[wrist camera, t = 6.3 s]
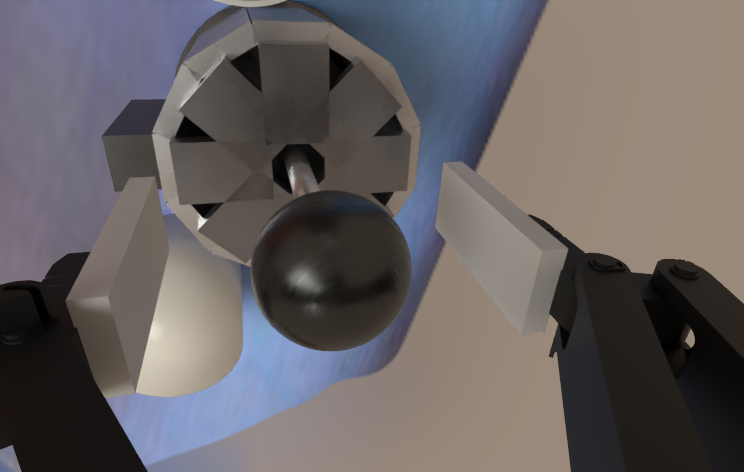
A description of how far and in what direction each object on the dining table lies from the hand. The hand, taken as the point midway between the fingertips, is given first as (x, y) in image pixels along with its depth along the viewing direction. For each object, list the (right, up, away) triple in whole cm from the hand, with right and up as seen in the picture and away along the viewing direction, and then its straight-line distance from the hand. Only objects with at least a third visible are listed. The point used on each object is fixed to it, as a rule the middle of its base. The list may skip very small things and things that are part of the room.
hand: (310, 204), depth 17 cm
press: (-4, +7, +13) cm, 15 cm away
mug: (-11, -3, +17) cm, 20 cm away
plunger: (-3, +6, +11) cm, 14 cm away
